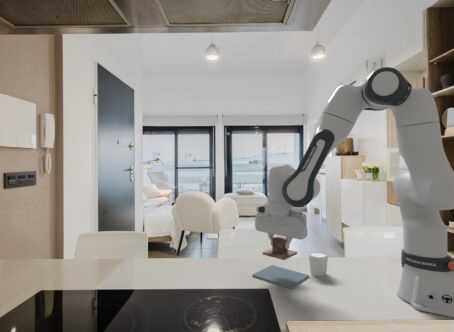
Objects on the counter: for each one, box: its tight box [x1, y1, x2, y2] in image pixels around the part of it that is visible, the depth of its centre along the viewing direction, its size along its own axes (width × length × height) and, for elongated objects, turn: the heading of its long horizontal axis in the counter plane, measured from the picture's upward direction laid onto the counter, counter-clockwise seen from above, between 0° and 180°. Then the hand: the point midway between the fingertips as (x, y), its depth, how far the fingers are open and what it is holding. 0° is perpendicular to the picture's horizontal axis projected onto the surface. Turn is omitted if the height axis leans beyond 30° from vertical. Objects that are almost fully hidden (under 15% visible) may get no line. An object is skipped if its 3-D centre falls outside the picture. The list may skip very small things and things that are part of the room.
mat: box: [252, 264, 310, 289], centre depth 106 cm, size 16×13×1 cm
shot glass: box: [308, 251, 329, 277], centre depth 109 cm, size 7×7×7 cm
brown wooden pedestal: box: [262, 235, 298, 261], centre depth 106 cm, size 9×9×6 cm
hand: (279, 246), depth 106 cm, fingers closed on brown wooden pedestal, 4 cm apart
